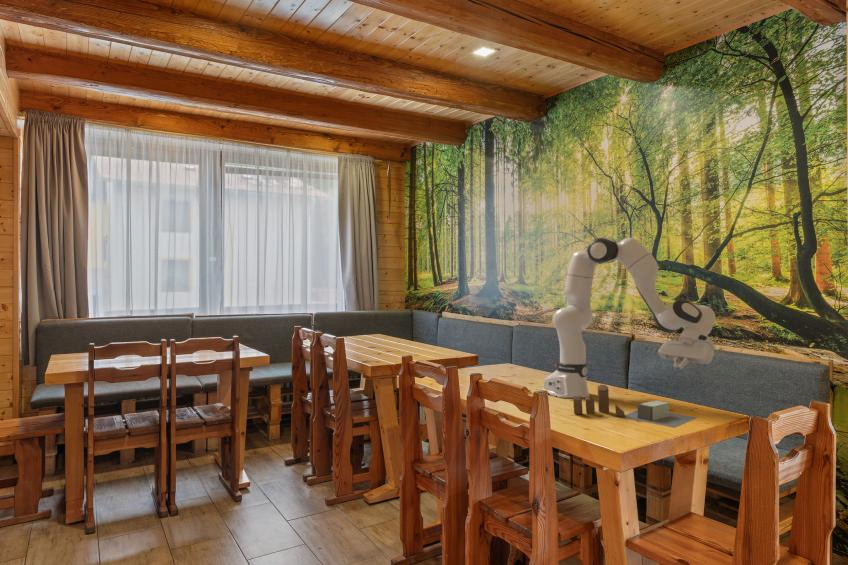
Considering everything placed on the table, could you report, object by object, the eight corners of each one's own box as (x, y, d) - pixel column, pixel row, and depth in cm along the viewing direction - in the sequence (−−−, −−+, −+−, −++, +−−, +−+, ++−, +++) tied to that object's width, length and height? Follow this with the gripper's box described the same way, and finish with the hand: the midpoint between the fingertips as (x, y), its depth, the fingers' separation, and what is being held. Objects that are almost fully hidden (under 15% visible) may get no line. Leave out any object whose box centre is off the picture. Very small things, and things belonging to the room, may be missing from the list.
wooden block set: (574, 420, 208) (573, 397, 205) (573, 408, 216) (572, 385, 213) (625, 420, 204) (624, 396, 200) (622, 407, 212) (621, 384, 208)
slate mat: (619, 418, 204) (619, 416, 204) (644, 409, 217) (644, 408, 217) (674, 429, 189) (674, 427, 189) (697, 419, 203) (697, 417, 203)
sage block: (656, 413, 209) (637, 418, 202) (656, 400, 209) (637, 404, 202) (669, 416, 204) (650, 421, 198) (669, 402, 204) (650, 407, 198)
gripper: (663, 333, 224) (649, 359, 219) (714, 338, 208) (699, 366, 202) (670, 343, 227) (655, 369, 222) (720, 349, 210) (706, 377, 205)
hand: (677, 368), depth 212 cm, fingers closed
